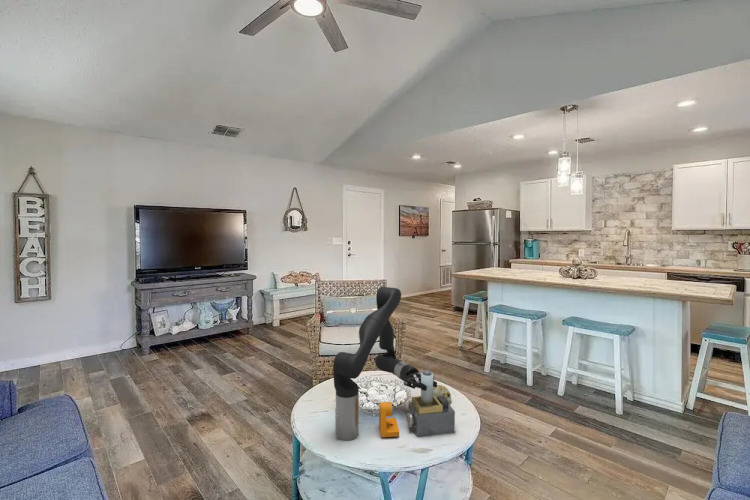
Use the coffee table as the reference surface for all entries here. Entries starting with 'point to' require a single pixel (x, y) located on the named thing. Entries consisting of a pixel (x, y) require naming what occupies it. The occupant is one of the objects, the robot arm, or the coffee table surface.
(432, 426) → the grey block with frame
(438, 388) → the seashell
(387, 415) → the bracket
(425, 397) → the bottle
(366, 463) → the coffee table surface
